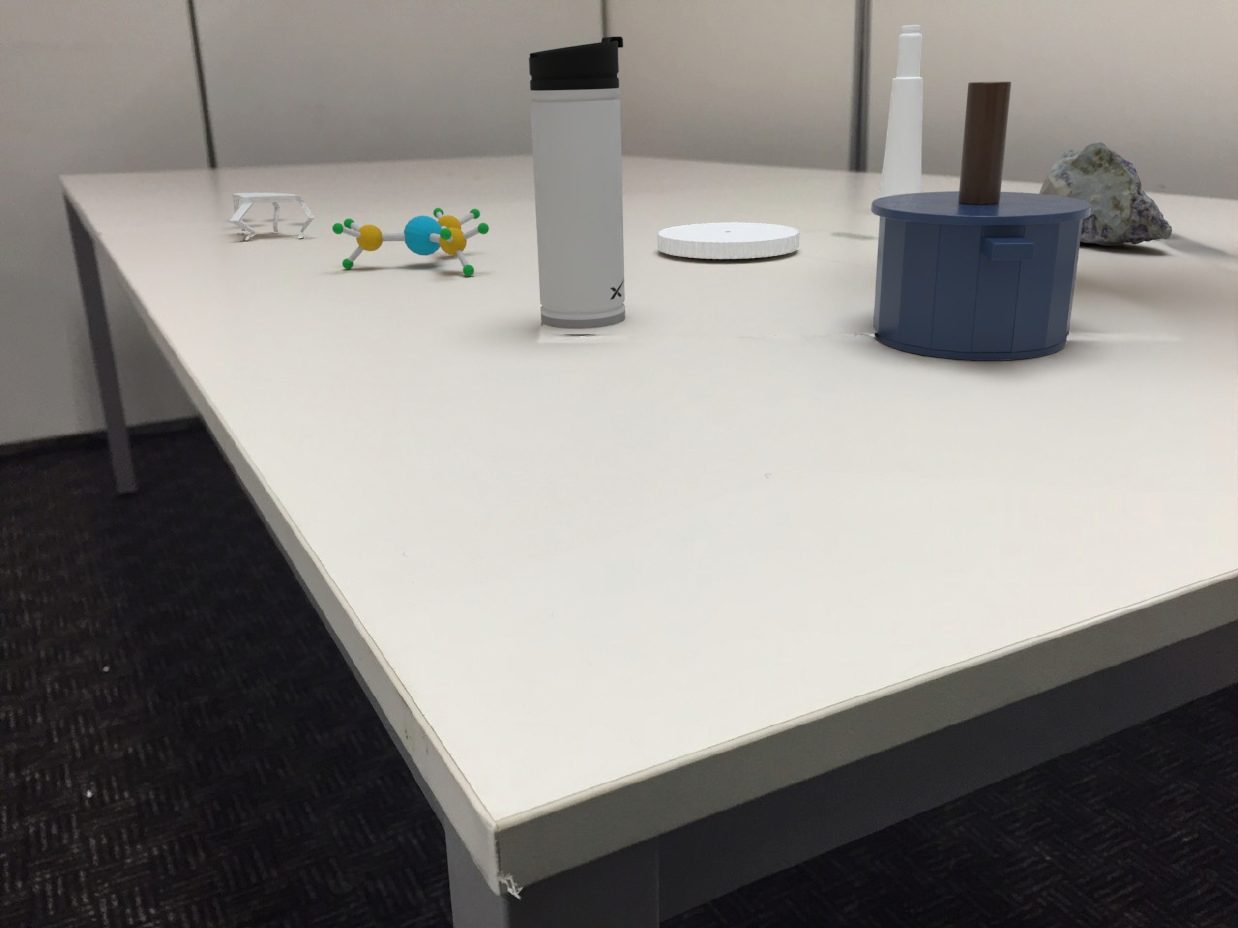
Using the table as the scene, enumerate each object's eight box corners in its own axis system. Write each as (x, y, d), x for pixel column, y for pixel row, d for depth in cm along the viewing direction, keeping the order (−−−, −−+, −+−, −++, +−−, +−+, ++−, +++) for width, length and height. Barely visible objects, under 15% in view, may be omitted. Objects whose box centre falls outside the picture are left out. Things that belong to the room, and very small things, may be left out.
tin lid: (1052, 206, 77) (1067, 78, 74) (1121, 235, 64) (1143, 80, 61) (858, 209, 78) (864, 83, 75) (887, 237, 65) (897, 86, 62)
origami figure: (208, 242, 125) (202, 199, 123) (241, 232, 133) (235, 191, 131) (306, 242, 124) (301, 198, 122) (333, 232, 131) (329, 190, 130)
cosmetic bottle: (934, 213, 134) (948, 24, 126) (898, 218, 131) (910, 24, 124) (899, 209, 139) (911, 26, 131) (864, 213, 136) (874, 26, 128)
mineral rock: (1174, 255, 102) (1191, 146, 99) (1059, 256, 103) (1072, 148, 99) (1124, 235, 114) (1137, 137, 111) (1021, 237, 115) (1031, 139, 112)
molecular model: (322, 268, 106) (394, 288, 95) (316, 218, 105) (389, 232, 94) (463, 249, 116) (544, 265, 105) (460, 202, 114) (541, 214, 103)
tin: (1025, 309, 82) (1038, 195, 79) (1107, 371, 65) (1127, 230, 62) (858, 310, 83) (864, 197, 80) (896, 372, 66) (905, 232, 63)
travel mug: (642, 329, 78) (637, 35, 71) (556, 339, 76) (543, 36, 69) (611, 313, 84) (604, 38, 77) (530, 322, 81) (515, 39, 75)
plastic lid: (644, 268, 102) (643, 241, 101) (672, 245, 115) (672, 221, 114) (792, 271, 99) (792, 243, 98) (804, 247, 112) (805, 223, 111)
